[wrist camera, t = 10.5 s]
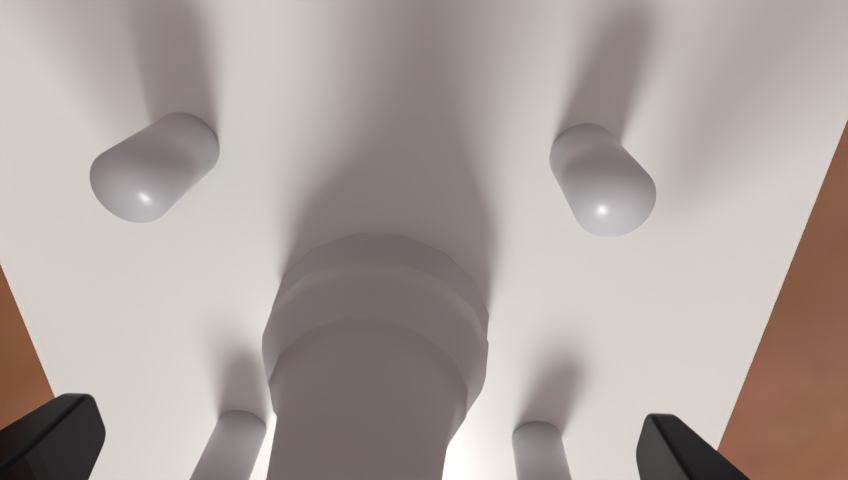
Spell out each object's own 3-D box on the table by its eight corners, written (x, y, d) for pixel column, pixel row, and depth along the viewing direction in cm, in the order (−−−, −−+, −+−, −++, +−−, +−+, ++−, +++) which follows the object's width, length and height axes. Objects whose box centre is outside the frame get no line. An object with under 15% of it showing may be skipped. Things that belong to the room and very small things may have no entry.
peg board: (116, 467, 16) (49, 572, 13) (-71, -41, 9) (-270, -37, 7) (674, 488, 15) (722, 601, 13) (857, -20, 9) (1025, -8, 6)
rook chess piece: (500, 381, 12) (576, 965, 5) (311, 402, 13) (147, 962, 6) (472, 204, 10) (535, 778, 3) (248, 238, 11) (-128, 797, 4)
